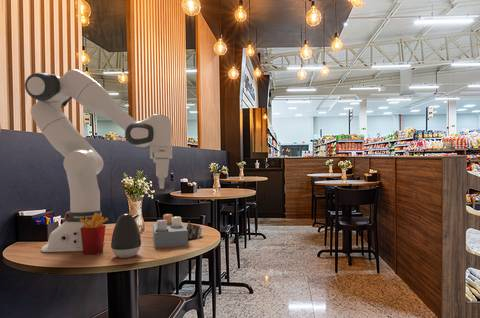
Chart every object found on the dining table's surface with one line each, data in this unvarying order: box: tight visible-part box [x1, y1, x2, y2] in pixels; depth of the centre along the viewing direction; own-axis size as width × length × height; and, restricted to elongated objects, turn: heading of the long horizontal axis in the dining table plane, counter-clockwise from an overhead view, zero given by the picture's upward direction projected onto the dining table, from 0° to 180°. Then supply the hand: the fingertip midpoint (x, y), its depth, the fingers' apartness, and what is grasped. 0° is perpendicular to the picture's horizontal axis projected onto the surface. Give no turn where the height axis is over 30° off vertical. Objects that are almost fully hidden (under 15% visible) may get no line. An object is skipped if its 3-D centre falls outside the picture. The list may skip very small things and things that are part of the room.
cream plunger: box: [172, 216, 182, 228], centre depth 143 cm, size 4×4×5 cm
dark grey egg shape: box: [110, 213, 142, 259], centre depth 119 cm, size 10×10×15 cm
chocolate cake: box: [186, 221, 203, 240], centre depth 150 cm, size 10×7×12 cm
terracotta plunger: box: [162, 213, 173, 225], centre depth 151 cm, size 4×4×5 cm
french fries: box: [80, 213, 109, 256], centre depth 125 cm, size 9×8×15 cm
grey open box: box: [152, 221, 189, 249], centre depth 143 cm, size 13×23×6 cm, turn 16°
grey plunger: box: [156, 219, 167, 232], centre depth 135 cm, size 4×4×5 cm
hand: (161, 188), depth 135 cm, fingers open, 3 cm apart
